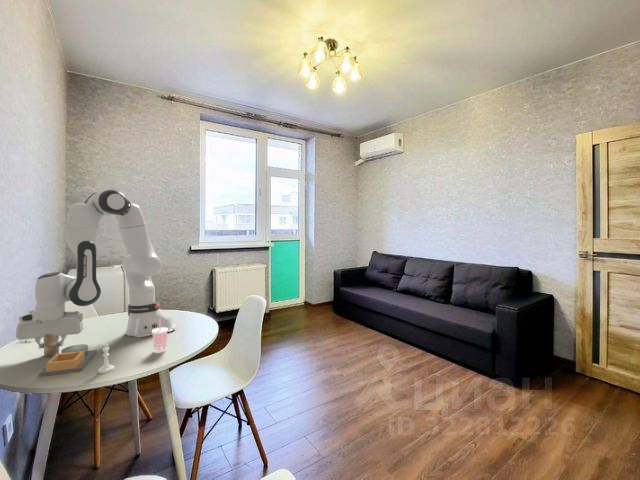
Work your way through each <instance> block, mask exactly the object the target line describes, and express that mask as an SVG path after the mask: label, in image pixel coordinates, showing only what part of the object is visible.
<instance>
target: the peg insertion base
mask: <svg viewBox="0 0 640 480" xmlns="http://www.w3.org/2000/svg"><path fill="white" fill-rule="evenodd" d="M60 351H61V353H59V354H56V355H55V356H52V357H51V359H49V360H48V361H47V362H46V363H45V368H43V369H42V370H41V371H40V372H39V373H38V377H39V378H40V377H46V376H51V375H52V376H53V375H60V374H66V373H75V372H82V371H83V369H84V368H85V367H86V366H87V365H88V363H90V361H91V360H92V359H93V357H94V356H96V353H98V349H92V350H89V345H88V344H84V343H83V344H75V345H70V346H67V347H65V348H62V350H60Z"/></svg>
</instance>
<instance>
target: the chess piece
mask: <svg viewBox="0 0 640 480" xmlns="http://www.w3.org/2000/svg"><path fill="white" fill-rule="evenodd" d="M102 346H103V348H102V352H103V354H102V357H104V359H103V364H102V366H101V367H99V368H98V369H97V373H99V374H107V373H110V372H112V371H113V370H115V365H113V364H110V362H109V356H110V353H109V351H110V347H109V346H110V345H109V344H108V343H107V342H104V344H102Z"/></svg>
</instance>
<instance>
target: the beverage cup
mask: <svg viewBox="0 0 640 480" xmlns="http://www.w3.org/2000/svg"><path fill="white" fill-rule="evenodd" d="M167 331H168V328H166V327H161V318H159V328H156V329H153V330H152V334H153V335H152V344H153V352H154V353H155V354H160V353H164V352H166V351H167V346H168V345H167V344H168V343H167V342H168V333H167ZM165 350H166V351H165Z"/></svg>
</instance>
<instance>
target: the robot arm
mask: <svg viewBox="0 0 640 480" xmlns="http://www.w3.org/2000/svg"><path fill="white" fill-rule="evenodd" d="M104 216H113V217H115V219H116V220H117V222H118V227H119V232H120V236H121V240H122V244H123V246H124V247H125V248H126V250H127V252H128V254H127V255H125V256H124V258H123V259H122V261H121V266H122V268H123V270H124V272H125V278H126V282H127V286H128V305H127V316H128V320H127V325H126V330H125V332H124V333H125V335H126V336H129V337H135V338H143V337H150V335H151V336H153V334H152V330H153V329H156V328H159V318H161V327H166V328H168V331H167V332H169V333H172V332H171V331H173V330H174V331H176V329H177V328H176V326H177V327H178V325H177V323H176V322H173V319H172V317H171V315H170V314H169V313H167V312H166V311H164V310H162V309H161V308H160V306H161V305H160V302H157V301H156V287H155V284H154V283H153V280H152V277H154V276H156V275H159V274H160V273H161V271H162V269H163V261H162V260H161V259H160V257H159V256H158V255H157V253H156V251H155V249H154V246H153V245H152V242H151V239H150V235H149V231H148V227H147V223H146V219H145V217H144V214H143V212H142V208H141V207H140V206H139V205H138V204H136V203H132V202H131V201H129V200H128V199H127V197H126V195H125V194H124V193H122V192H120V191H119V190H114V189H105V190H104V189H103V190H99V191H97V192H94V193H92V194H90V195H89V196H88V198H87V199H86V200H85V201H84V202H77V203H74V204H72V205H71V206H70V207H69V210H68V212H67V217H66V221H65V231H64V235H65V236H64V237H65V242H66V245H67V246H68V247H69V248H70V250H71V251H72V252H73V255H74V256H75V261H76V265H75V267H76V271H75V272H76V275H75V276H71V275H67V274H65V273H63V272H61V271H54V272H49V273H48V272H47V273H45V274H42V275H40V276H38V278H37V279H36V282H35V287H34V288H35V289H34V292H35V293H34V297H35V299H36V300H35V301H36V304H35V309H34V310H31V311H28V312H26V313H24V314H21V315H20V316H19V317H18V324H17V325H16V330H15V337H16V339H17V340H19V341H22V340H30V339H31V340H32V339H34V341H35V343H36V344H37V345H38V349H39V350H40V349H44V341H43V340H42V339H43V338H44V337H45V334H53V335H54V336H59V337H60V339H61V340H59V342H58V343H57V344H58V347H59V348H60V347H63V346H65V345H64V344H65V340H66V338H67V337H68V336H70V335H71V336H72V335H79V334H80V333H82V332H83V330H84V324H83V319H84V315H83V313H82V312H81V311H77V310H75V311H66V303H67V302H71V303H72V304H74V305H75V306H78V307H86V306H90V305H93V304H94V303H96V302H97V301H98V300H99V298H100V297H101V294H102V290H101V287H100V284H99V283H98V280H97V247H98V238H99V230H100V229H99V227H100V224H99V223H100V222H101V221H100V220H101V219H102V217H104ZM175 328H176V329H175ZM174 331H173V332H174Z"/></svg>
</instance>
